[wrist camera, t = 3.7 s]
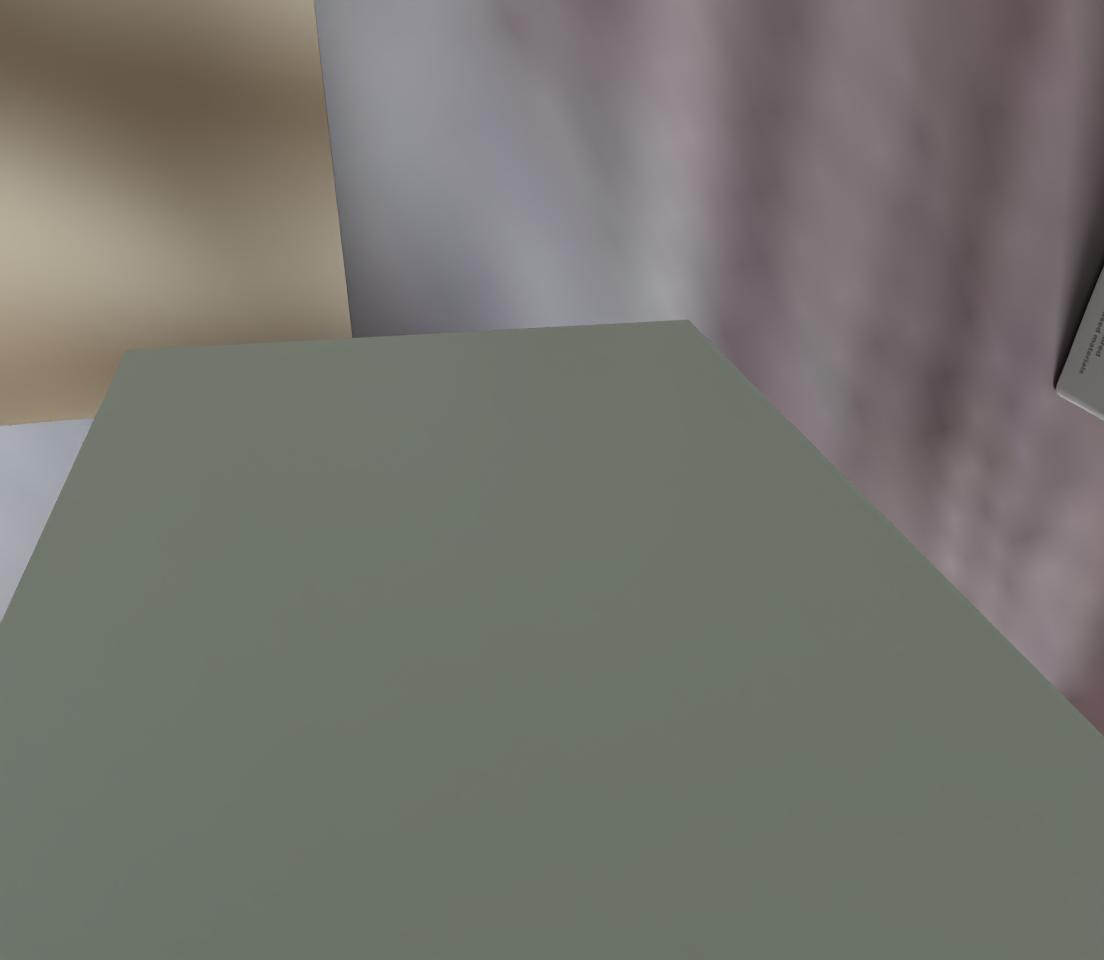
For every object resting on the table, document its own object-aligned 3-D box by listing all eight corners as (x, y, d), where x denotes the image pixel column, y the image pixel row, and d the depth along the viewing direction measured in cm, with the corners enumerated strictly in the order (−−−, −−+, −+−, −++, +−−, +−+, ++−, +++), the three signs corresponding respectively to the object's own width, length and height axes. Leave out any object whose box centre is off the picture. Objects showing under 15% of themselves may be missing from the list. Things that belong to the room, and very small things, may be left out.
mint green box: (642, 699, 11) (949, 1401, 6) (222, 761, 10) (119, 1695, 5) (687, 319, 9) (1330, 961, 3) (124, 349, 8) (-364, 1407, 2)
